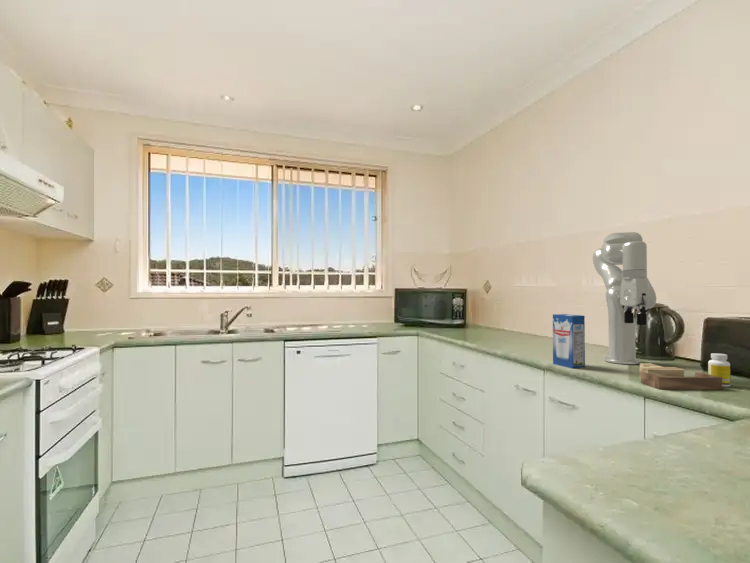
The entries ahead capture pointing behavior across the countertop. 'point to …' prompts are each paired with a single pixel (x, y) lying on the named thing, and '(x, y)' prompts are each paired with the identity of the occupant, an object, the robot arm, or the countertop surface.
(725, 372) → the supplement bottle
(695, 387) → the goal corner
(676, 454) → the countertop surface
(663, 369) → the t block
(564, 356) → the milk carton
